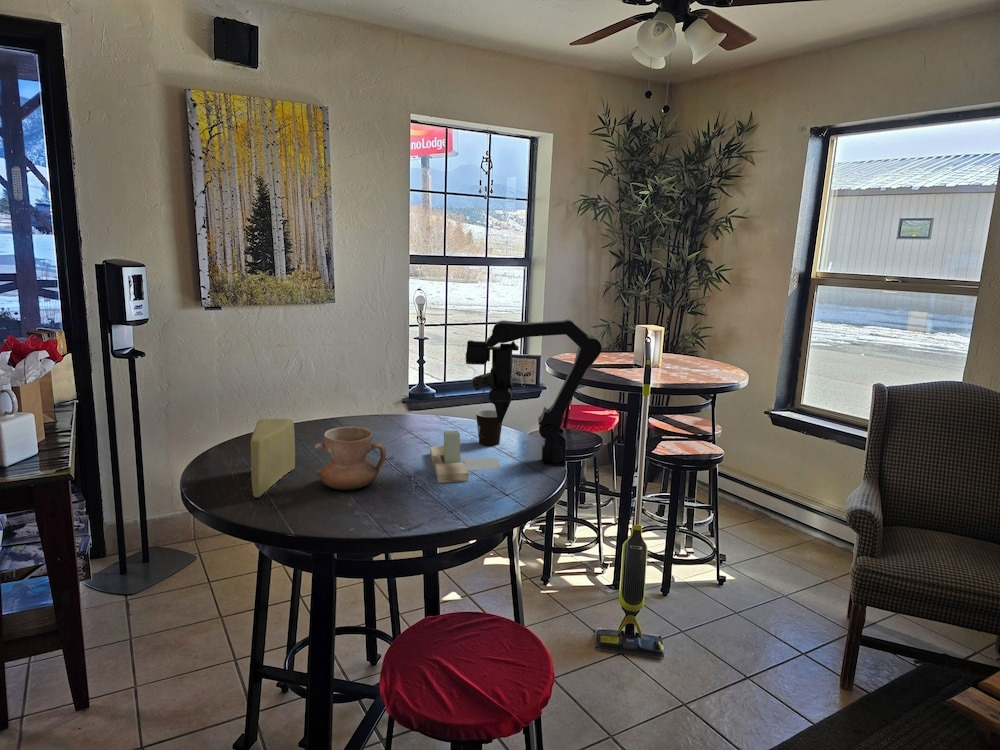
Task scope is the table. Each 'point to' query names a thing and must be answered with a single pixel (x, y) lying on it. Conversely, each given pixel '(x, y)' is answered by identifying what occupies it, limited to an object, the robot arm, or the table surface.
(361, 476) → the ceramic jug
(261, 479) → the cheese
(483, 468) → the mat
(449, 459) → the sage block
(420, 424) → the table surface
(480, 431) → the coffee mug
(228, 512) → the table surface
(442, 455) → the block
